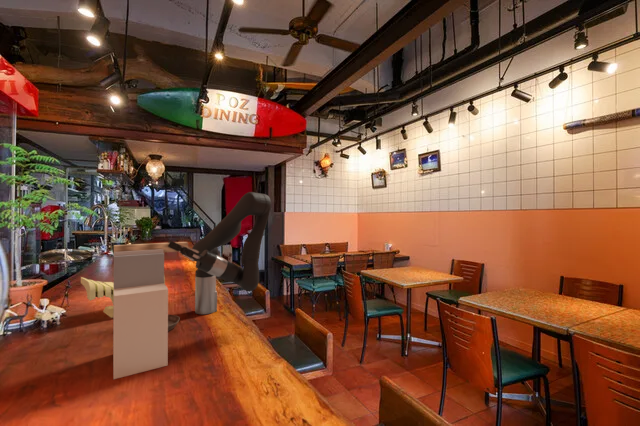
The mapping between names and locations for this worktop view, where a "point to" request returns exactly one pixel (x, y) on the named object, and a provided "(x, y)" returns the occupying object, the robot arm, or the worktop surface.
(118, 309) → the stepped stand
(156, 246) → the maple bar
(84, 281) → the slatted curved stool
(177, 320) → the plant saucer
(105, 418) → the worktop surface
